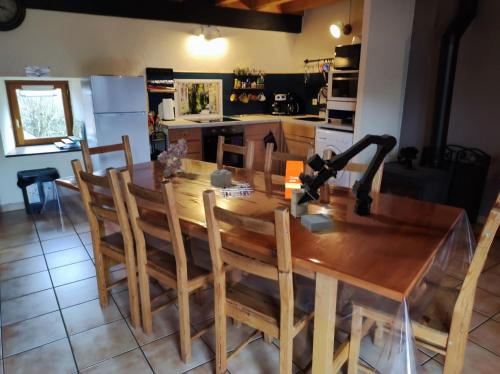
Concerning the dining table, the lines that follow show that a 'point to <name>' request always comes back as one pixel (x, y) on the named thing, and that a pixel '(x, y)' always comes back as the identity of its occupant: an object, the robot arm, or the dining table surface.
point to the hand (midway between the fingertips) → (296, 201)
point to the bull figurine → (317, 200)
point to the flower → (177, 152)
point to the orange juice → (293, 176)
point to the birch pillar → (295, 208)
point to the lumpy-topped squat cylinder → (220, 178)
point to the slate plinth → (316, 222)
